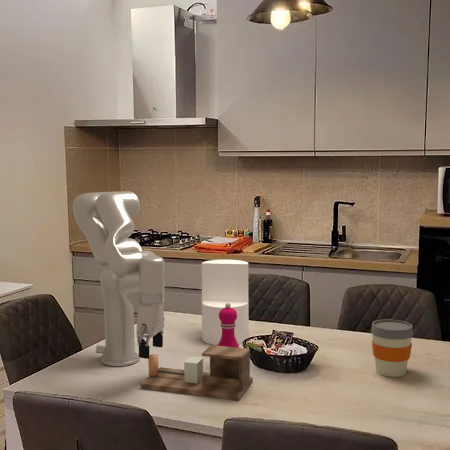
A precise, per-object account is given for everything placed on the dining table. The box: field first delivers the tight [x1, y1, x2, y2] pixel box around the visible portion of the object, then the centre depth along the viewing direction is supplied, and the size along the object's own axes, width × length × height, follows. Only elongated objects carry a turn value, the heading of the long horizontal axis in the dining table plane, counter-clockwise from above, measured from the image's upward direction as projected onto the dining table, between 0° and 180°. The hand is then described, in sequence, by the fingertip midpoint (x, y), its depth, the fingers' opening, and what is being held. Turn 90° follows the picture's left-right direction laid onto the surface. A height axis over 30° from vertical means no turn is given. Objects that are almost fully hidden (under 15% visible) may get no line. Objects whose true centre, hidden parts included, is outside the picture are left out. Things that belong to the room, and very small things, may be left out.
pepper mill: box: [217, 303, 240, 348], centre depth 196 cm, size 7×7×20 cm
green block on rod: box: [147, 353, 204, 383], centre depth 180 cm, size 16×5×6 cm, turn 72°
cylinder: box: [201, 259, 250, 346], centre depth 222 cm, size 17×17×28 cm
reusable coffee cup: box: [370, 318, 414, 378], centre depth 187 cm, size 13×13×15 cm
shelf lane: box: [140, 344, 254, 401], centre depth 177 cm, size 30×14×11 cm, turn 72°
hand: (151, 352), depth 182 cm, fingers open, 9 cm apart
